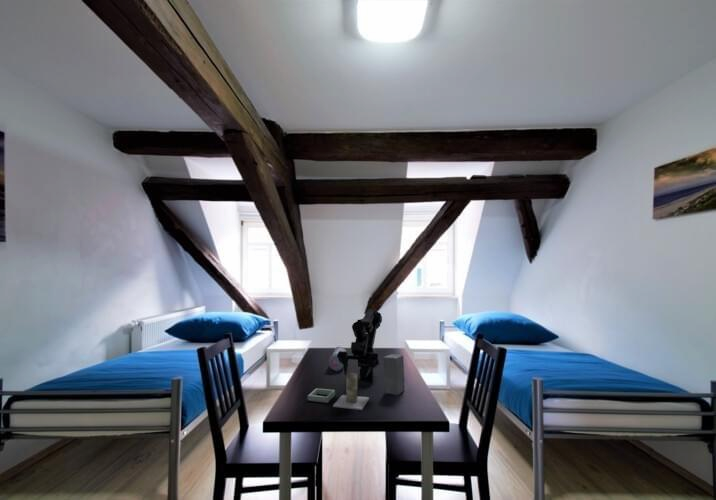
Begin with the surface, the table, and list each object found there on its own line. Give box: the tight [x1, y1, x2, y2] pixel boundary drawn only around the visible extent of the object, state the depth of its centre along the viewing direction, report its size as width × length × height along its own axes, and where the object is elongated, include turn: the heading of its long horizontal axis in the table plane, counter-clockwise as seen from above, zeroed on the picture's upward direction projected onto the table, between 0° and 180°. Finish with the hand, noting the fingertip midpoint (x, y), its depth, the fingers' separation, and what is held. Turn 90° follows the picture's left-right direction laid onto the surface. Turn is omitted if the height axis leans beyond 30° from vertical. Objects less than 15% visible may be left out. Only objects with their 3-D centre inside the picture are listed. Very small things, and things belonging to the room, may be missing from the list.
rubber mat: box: [332, 394, 370, 411], centre depth 138 cm, size 12×12×1 cm
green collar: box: [307, 388, 336, 404], centre depth 144 cm, size 9×9×2 cm
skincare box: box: [383, 353, 406, 396], centre depth 151 cm, size 8×7×16 cm
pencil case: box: [328, 345, 348, 372], centre depth 191 cm, size 21×9×10 cm, turn 177°
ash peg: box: [345, 372, 358, 403], centre depth 139 cm, size 4×4×11 cm
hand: (355, 375), depth 145 cm, fingers open, 9 cm apart
